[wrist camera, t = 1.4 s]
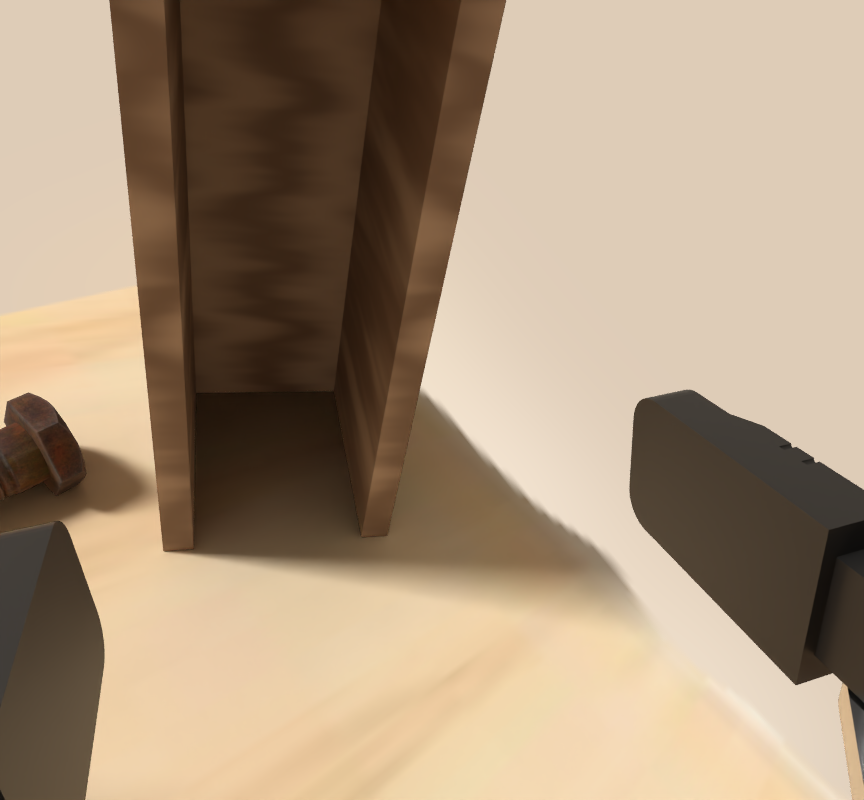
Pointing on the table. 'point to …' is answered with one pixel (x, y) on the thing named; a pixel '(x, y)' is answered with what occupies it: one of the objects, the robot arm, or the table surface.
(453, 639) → the table surface
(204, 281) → the walnut stand
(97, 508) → the table surface
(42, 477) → the bolt
